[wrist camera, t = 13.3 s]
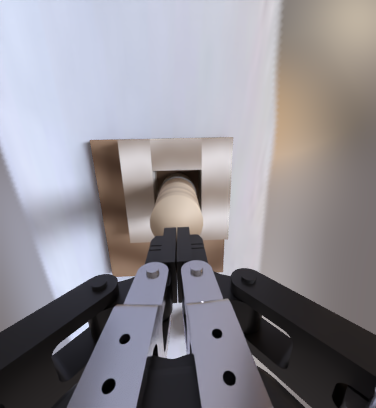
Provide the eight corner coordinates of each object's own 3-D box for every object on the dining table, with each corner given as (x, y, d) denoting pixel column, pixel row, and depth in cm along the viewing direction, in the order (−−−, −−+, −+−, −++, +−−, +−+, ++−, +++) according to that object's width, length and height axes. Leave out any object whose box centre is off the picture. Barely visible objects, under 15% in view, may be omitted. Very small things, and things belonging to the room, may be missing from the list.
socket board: (94, 140, 25) (72, 140, 20) (226, 137, 26) (237, 137, 21) (116, 270, 32) (103, 296, 26) (220, 266, 32) (228, 290, 27)
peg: (161, 170, 25) (145, 197, 14) (193, 169, 25) (204, 195, 14) (163, 201, 27) (150, 249, 15) (193, 200, 27) (204, 246, 15)
